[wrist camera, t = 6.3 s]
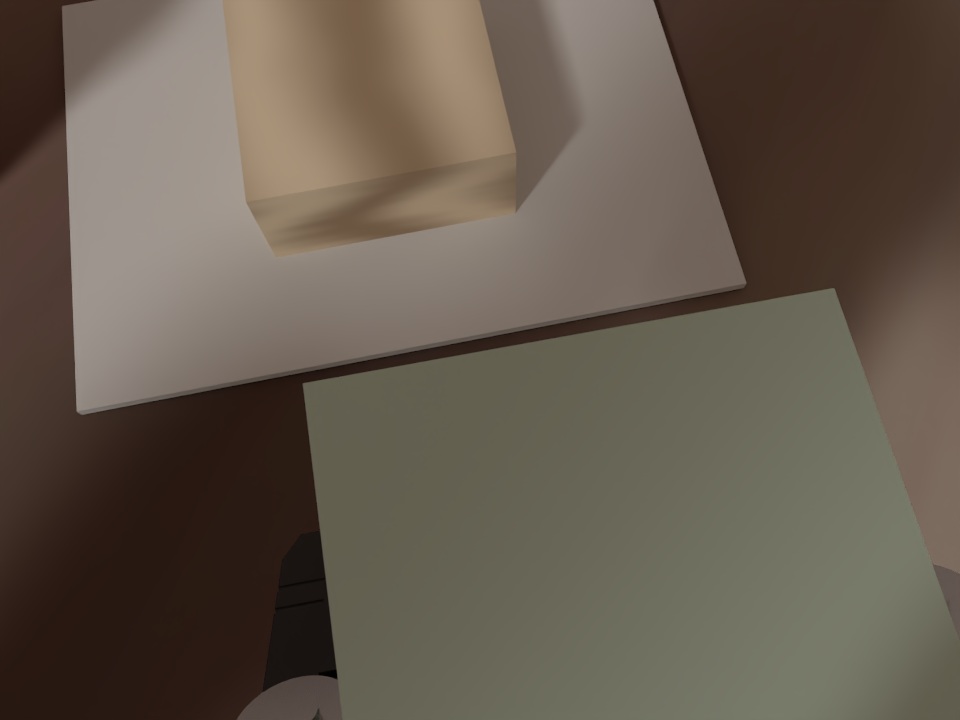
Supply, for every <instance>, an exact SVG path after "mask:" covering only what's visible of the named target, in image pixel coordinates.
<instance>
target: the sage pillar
mask: <svg viewBox="0 0 960 720" xmlns="http://www.w3.org/2000/svg"><path fill="white" fill-rule="evenodd" d="M303 390H304V398H305V407H306V415H307V424H308V432H309V441H310V449H311V458H312V466H313V474H314V483H315V491H316V500H317V508H318V517H319V525H320V533H321V542H322V550H323V559H324V567H325V576H326V584H327V593H328V601H329V609H330V618H331V626H332V635H333V643H334V652H335V660H336V669H337V677H338V685H339V694H340V702H341V711H342V719H343V720H960V640H959V638H958V635H957V632H956V629H955V626H954V624H953V621H952V618H951V615H950V612H949V609H948V607H947V604H946V601H945V598H944V595H943V593H942V590H941V587H940V584H939V581H938V579H937V576H936V573H935V570H934V567H933V564H932V562H931V559H930V556H929V553H928V550H927V548H926V545H925V542H924V539H923V536H922V534H921V531H920V528H919V525H918V522H917V519H916V517H915V514H914V511H913V508H912V505H911V503H910V500H909V497H908V494H907V491H906V489H905V486H904V483H903V480H902V477H901V474H900V472H899V469H898V466H897V463H896V460H895V458H894V455H893V452H892V449H891V446H890V443H889V441H888V438H887V435H886V432H885V429H884V427H883V424H882V421H881V418H880V415H879V413H878V410H877V407H876V404H875V401H874V398H873V396H872V393H871V390H870V387H869V384H868V382H867V379H866V376H865V373H864V370H863V368H862V365H861V362H860V359H859V356H858V353H857V351H856V348H855V345H854V342H853V339H852V337H851V334H850V331H849V328H848V325H847V323H846V320H845V317H844V314H843V311H842V308H841V306H840V303H839V300H838V297H837V294H836V292H835V289H834V288H831V289H825V290H820V291H814V292H809V293H803V294H797V295H792V296H786V297H781V298H775V299H770V300H764V301H759V302H753V303H747V304H742V305H736V306H731V307H725V308H720V309H714V310H708V311H703V312H697V313H692V314H686V315H681V316H675V317H669V318H664V319H658V320H653V321H647V322H642V323H636V324H631V325H625V326H619V327H614V328H608V329H603V330H597V331H592V332H586V333H580V334H575V335H569V336H564V337H558V338H553V339H547V340H541V341H536V342H530V343H525V344H519V345H514V346H508V347H502V348H497V349H491V350H486V351H480V352H475V353H469V354H464V355H458V356H452V357H447V358H441V359H436V360H430V361H425V362H419V363H413V364H408V365H402V366H397V367H391V368H386V369H380V370H374V371H369V372H363V373H358V374H352V375H347V376H341V377H336V378H330V379H324V380H319V381H313V382H308V383H303Z"/></svg>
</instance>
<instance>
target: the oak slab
mask: <svg viewBox="0 0 960 720" xmlns="http://www.w3.org/2000/svg"><path fill="white" fill-rule="evenodd" d="M223 9H224V18H225V26H226V35H227V43H228V52H229V61H230V69H231V78H232V86H233V95H234V104H235V112H236V121H237V129H238V138H239V147H240V155H241V164H242V172H243V181H244V190H245V198H246V203H247V205H248V207H249V209H250V211H251V212H252V214H253V216H254V218H255V220H256V222H257V224H258V225H259V227H260V229H261V231H262V233H263V235H264V237H265V238H266V240H267V242H268V244H269V246H270V248H271V249H272V251H273V253H274V255H275V257H276V258H277V257H283V256H288V255H294V254H299V253H304V252H310V251H315V250H320V249H326V248H331V247H336V246H342V245H347V244H353V243H358V242H363V241H369V240H374V239H379V238H385V237H390V236H396V235H401V234H406V233H412V232H417V231H422V230H428V229H433V228H438V227H444V226H449V225H455V224H460V223H465V222H471V221H476V220H481V219H487V218H492V217H497V216H503V215H508V214H514V213H516V149H515V145H514V141H513V137H512V133H511V128H510V124H509V120H508V116H507V112H506V108H505V104H504V100H503V96H502V91H501V87H500V83H499V79H498V75H497V71H496V67H495V63H494V59H493V54H492V50H491V46H490V42H489V38H488V34H487V30H486V26H485V22H484V17H483V13H482V9H481V5H480V1H479V0H223Z"/></svg>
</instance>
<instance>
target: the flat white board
mask: <svg viewBox="0 0 960 720" xmlns="http://www.w3.org/2000/svg"><path fill="white" fill-rule="evenodd" d="M479 1H480V5H481V9H482V13H483V17H484V22H485V26H486V30H487V34H488V38H489V42H490V46H491V50H492V54H493V59H494V63H495V67H496V71H497V75H498V79H499V83H500V87H501V91H502V96H503V100H504V104H505V108H506V112H507V116H508V120H509V124H510V128H511V133H512V137H513V141H514V145H515V149H516V213H514V214H508V215H503V216H497V217H492V218H487V219H481V220H476V221H471V222H465V223H460V224H455V225H449V226H444V227H438V228H433V229H428V230H422V231H417V232H412V233H406V234H401V235H396V236H390V237H385V238H379V239H374V240H369V241H363V242H358V243H353V244H347V245H342V246H336V247H331V248H326V249H320V250H315V251H310V252H304V253H299V254H294V255H288V256H283V257H277V258H276V257H275V255H274V253H273V251H272V249H271V248H270V246H269V244H268V242H267V240H266V238H265V237H264V235H263V233H262V231H261V229H260V227H259V225H258V224H257V222H256V220H255V218H254V216H253V214H252V212H251V211H250V209H249V207H248V205H247V203H246V198H245V190H244V181H243V172H242V164H241V155H240V147H239V138H238V129H237V121H236V112H235V104H234V95H233V86H232V78H231V69H230V61H229V52H228V43H227V35H226V26H225V18H224V9H223V0H95V1H89V2H83V3H78V4H72V5H66V6H62V22H63V49H64V76H65V103H66V131H67V158H68V185H69V213H70V240H71V267H72V295H73V322H74V349H75V376H76V404H77V412H78V413H80V414H81V415H84V414H89V413H94V412H99V411H104V410H110V409H115V408H120V407H125V406H131V405H136V404H141V403H146V402H151V401H157V400H162V399H167V398H172V397H178V396H183V395H188V394H193V393H198V392H204V391H209V390H214V389H219V388H225V387H230V386H235V385H240V384H245V383H251V382H256V381H261V380H266V379H272V378H277V377H282V376H287V375H292V374H298V373H303V372H308V371H313V370H319V369H324V368H329V367H334V366H339V365H345V364H350V363H355V362H360V361H366V360H371V359H376V358H381V357H386V356H392V355H397V354H402V353H407V352H413V351H418V350H423V349H428V348H433V347H439V346H444V345H449V344H454V343H460V342H465V341H470V340H475V339H480V338H486V337H491V336H496V335H501V334H507V333H512V332H517V331H522V330H527V329H533V328H538V327H543V326H548V325H554V324H559V323H564V322H569V321H574V320H580V319H585V318H590V317H595V316H601V315H606V314H611V313H616V312H621V311H627V310H632V309H637V308H642V307H648V306H653V305H658V304H663V303H668V302H674V301H679V300H684V299H689V298H695V297H700V296H705V295H710V294H715V293H721V292H726V291H731V290H736V289H742V288H744V287H745V285H746V284H747V283H746V280H745V277H744V274H743V271H742V268H741V265H740V262H739V259H738V256H737V253H736V250H735V247H734V244H733V240H732V237H731V234H730V231H729V228H728V225H727V222H726V219H725V216H724V213H723V210H722V207H721V204H720V201H719V198H718V195H717V192H716V189H715V186H714V183H713V180H712V177H711V174H710V171H709V168H708V165H707V162H706V159H705V155H704V152H703V149H702V146H701V143H700V140H699V137H698V134H697V131H696V128H695V125H694V122H693V119H692V116H691V113H690V110H689V107H688V104H687V101H686V98H685V95H684V92H683V89H682V86H681V83H680V80H679V77H678V74H677V71H676V67H675V64H674V61H673V58H672V55H671V52H670V49H669V46H668V43H667V40H666V37H665V34H664V31H663V28H662V25H661V22H660V19H659V16H658V13H657V10H656V7H655V4H654V1H653V0H479Z"/></svg>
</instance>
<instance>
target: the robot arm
mask: <svg viewBox="0 0 960 720" xmlns="http://www.w3.org/2000/svg"><path fill="white" fill-rule="evenodd" d="M933 567H934V570H935V573H936V576H937V579H938V581H939V584H940V587H941V590H942V593H943V595H944V598H945V601H946V604H947V607H948V609H949V612H950V615H951V618H952V621H953V624H954V626H955V629H956V632H957V635H958V638H959V640H960V574H959V573H956V572H954V571H952V570H950V569H947V568H944V567H941V566H937V565H933ZM278 587H279V592H278V593H277V599H276V606H275V610H276V614H274V619H273V626H272V633H271V639H270V646H269V652H268V659H267V666H266V672H265V679H264V686H263V692H262V693H261V694H260V695H259V696H257V697H256V698H255V699H254V700H252V701H251V703H250V704H249V705H248V706H247V707H246V708H245V709H244V710H243V711H242V713H241V714H240V715H239V717H238V719H237V720H343V719H342V711H341V702H340V694H339V685H338V677H337V669H336V660H335V652H334V643H333V635H332V626H331V618H330V609H329V601H328V593H327V584H326V576H325V567H324V559H323V550H322V542H321V533H320V531H317V532H312V533H306V534H301V535H300V536H299V538H298V539H297V540H296V542H295V543H294V545H293V546H292V547H291V549H290V550H289V552H288V553H287V554H286V556H285V557H284V559H283V560H282V566H281V573H280V579H279V586H278Z"/></svg>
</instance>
